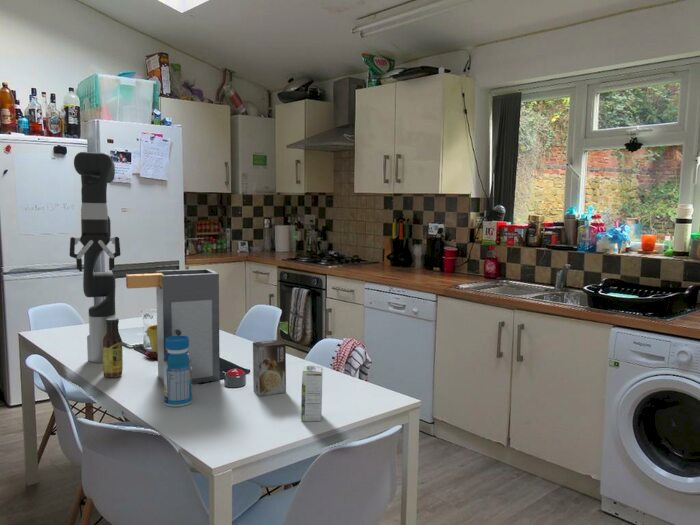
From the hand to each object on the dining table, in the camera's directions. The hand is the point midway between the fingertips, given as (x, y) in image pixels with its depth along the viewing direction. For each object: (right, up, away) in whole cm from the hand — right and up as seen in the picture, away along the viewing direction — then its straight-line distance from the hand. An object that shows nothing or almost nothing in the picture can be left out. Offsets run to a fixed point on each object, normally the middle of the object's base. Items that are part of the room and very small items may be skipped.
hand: (95, 270), depth 180 cm
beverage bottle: (+27, -40, -4) cm, 48 cm away
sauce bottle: (-3, -37, +21) cm, 42 cm away
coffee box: (+53, -39, +7) cm, 66 cm away
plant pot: (+3, -33, +53) cm, 62 cm away
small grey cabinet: (+23, -37, +20) cm, 48 cm away
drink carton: (+68, -42, -14) cm, 81 cm away
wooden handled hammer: (+19, -5, +13) cm, 23 cm away
